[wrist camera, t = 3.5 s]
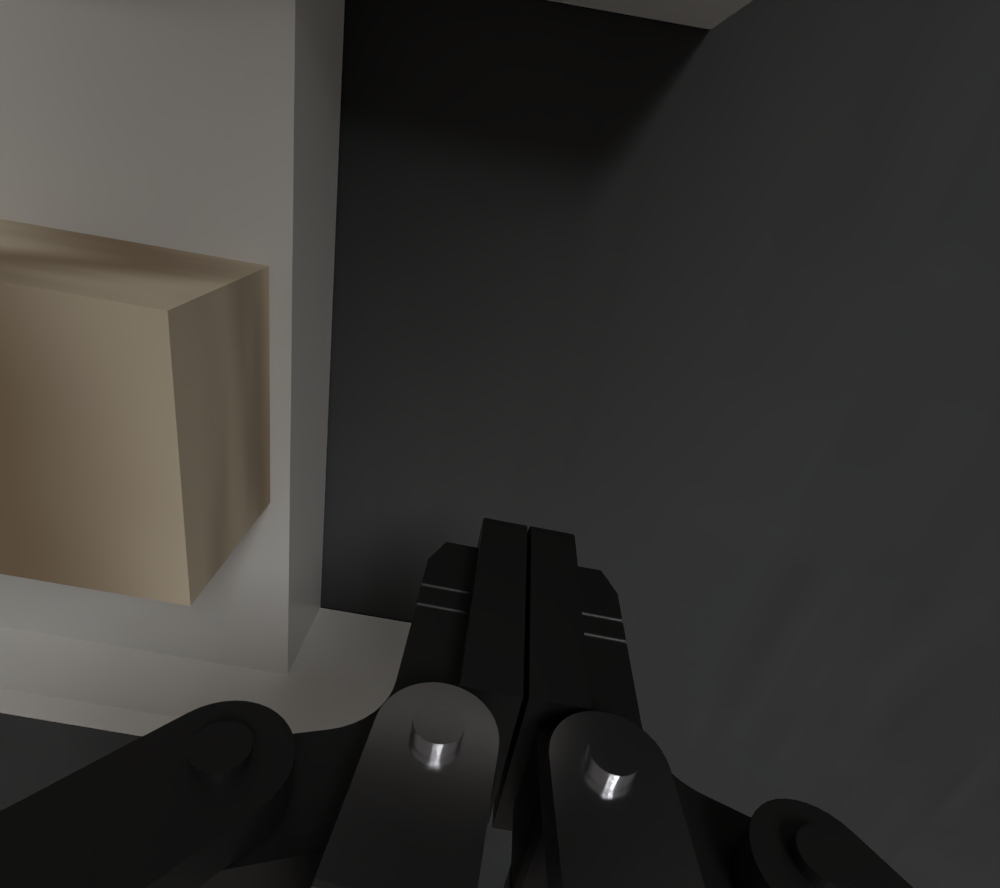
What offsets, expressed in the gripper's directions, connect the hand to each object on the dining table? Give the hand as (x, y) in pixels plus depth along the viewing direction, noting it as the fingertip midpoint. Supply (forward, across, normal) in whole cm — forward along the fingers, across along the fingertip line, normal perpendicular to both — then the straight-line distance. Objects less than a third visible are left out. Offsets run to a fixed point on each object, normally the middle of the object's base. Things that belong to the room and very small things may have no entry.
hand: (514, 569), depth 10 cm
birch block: (+5, +10, 0) cm, 11 cm away
